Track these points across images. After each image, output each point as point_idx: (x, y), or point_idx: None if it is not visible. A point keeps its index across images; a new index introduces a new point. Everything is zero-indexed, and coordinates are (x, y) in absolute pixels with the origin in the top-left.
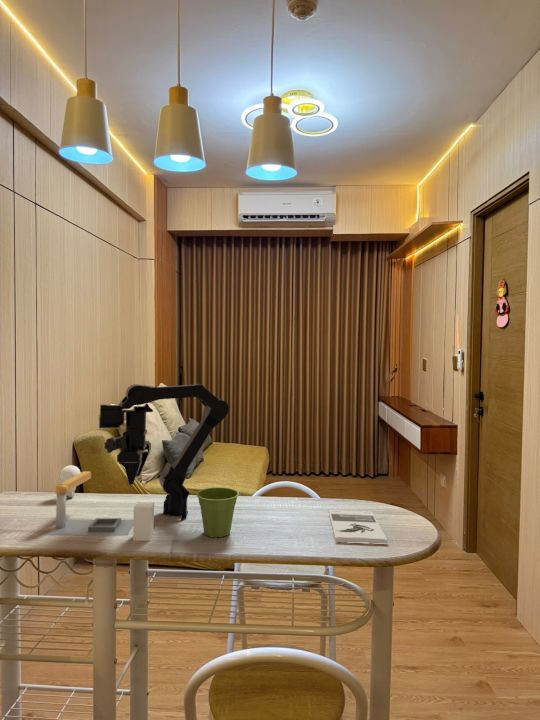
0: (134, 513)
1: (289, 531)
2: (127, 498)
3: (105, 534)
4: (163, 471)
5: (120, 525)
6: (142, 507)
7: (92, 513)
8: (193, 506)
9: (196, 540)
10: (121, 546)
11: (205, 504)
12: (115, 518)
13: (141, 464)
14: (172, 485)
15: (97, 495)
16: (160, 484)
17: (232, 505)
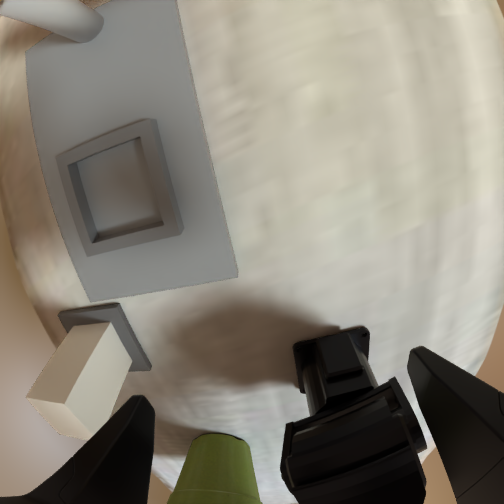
0: (35, 384)
1: (261, 490)
2: (499, 124)
3: (65, 232)
4: (390, 476)
5: (153, 241)
6: (43, 416)
7: (319, 27)
8: None
9: (166, 426)
10: (55, 298)
11: (168, 500)
12: (172, 209)
13: (449, 454)
14: (282, 478)
15: (493, 16)
16: (370, 414)
17: None
